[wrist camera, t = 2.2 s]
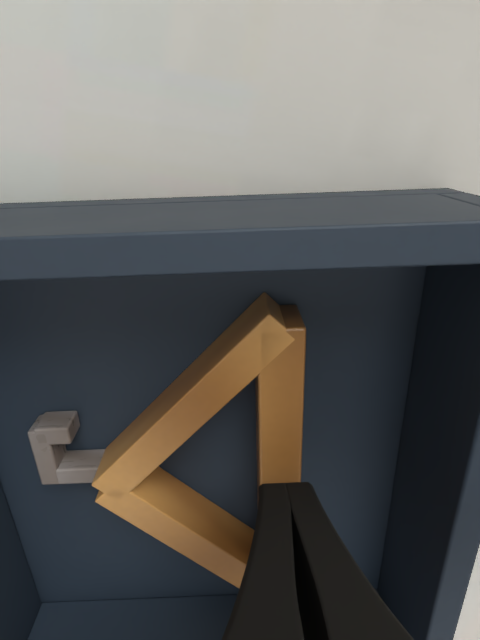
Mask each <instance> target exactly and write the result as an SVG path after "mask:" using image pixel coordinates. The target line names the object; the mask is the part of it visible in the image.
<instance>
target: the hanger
mask: <svg viewBox="0 0 480 640" xmlns="http://www.w3.org/2000/svg"><path fill="white" fill-rule="evenodd" d="M305 355H306V327H305V325H304V322H303V320H302V317H301V315H300V312H299V309H298V307H297V305H279V304H278V303H276V302H275V301H274V300H273V299H272V298H271V297H270V296H269V295H268V294H266V293H265V292H264V293H262V294H261V295H260V296H259V297H258V298H257V299H256V300H255V301H254V302H253V303H252V304H251V305H250V306H249V307H248V308H247V309H246V310H245V311H244V312H243V313H242V314H241V315H240V316H239V317H238V318H237V319H236V320H235V321H234V322H233V323H232V324H231V325H230V326H229V327H228V328H227V329H226V330H225V331H224V332H223V333H222V334H221V335H220V336H219V337H218V338H217V339H216V340H215V341H214V342H213V343H212V344H211V345H210V346H209V347H208V348H207V349H206V350H205V351H204V352H203V353H202V354H201V355H200V356H199V357H198V358H197V359H196V360H195V361H194V362H193V363H192V364H191V365H190V366H189V367H188V368H186V369H185V370H184V371H183V372H182V373H181V374H180V375H179V376H178V377H177V378H176V379H175V380H174V381H173V382H172V383H171V384H170V385H169V386H168V387H167V388H166V389H165V390H164V391H163V392H162V393H161V394H160V395H159V396H158V397H157V398H156V399H155V400H154V401H153V402H152V403H151V404H150V405H149V406H148V407H147V408H146V409H145V410H144V411H143V412H142V413H141V414H140V415H139V416H138V417H137V418H136V419H135V420H134V421H133V422H132V423H131V424H130V425H129V426H128V427H127V428H126V429H125V430H124V431H123V432H122V433H121V434H120V435H119V436H118V437H117V438H116V439H115V440H114V441H113V442H112V443H111V444H109V445H108V446H107V447H106V449H93V450H66V445H65V444H71V443H72V441H73V439H74V437H75V435H76V433H77V431H78V429H79V427H80V422H79V417H78V413H77V411H52V412H45V413H44V415H39V416H38V418H37V419H36V421H35V422H34V423H33V425H32V426H31V428H30V429H29V431H28V438H29V441H30V445H31V448H32V452H33V455H34V459H35V462H36V466H37V469H38V473H39V476H40V480H41V483H42V484H43V485H53V484H79V483H92V486H93V487H94V488H96V489H98V490H99V491H98V494H97V497H96V499H95V502H96V503H98V504H99V505H101V506H103V507H104V508H106V509H108V510H109V511H111V512H113V513H114V514H116V515H117V516H119V517H121V518H122V519H124V520H126V521H127V522H129V523H131V524H132V525H134V526H136V527H137V528H139V529H141V530H142V531H144V532H146V533H147V534H149V535H151V536H152V537H154V538H156V539H157V540H159V541H161V542H162V543H164V544H166V545H167V546H169V547H171V548H172V549H174V550H176V551H177V552H179V553H181V554H182V555H184V556H186V557H187V558H189V559H191V560H192V561H194V562H196V563H197V564H199V565H201V566H202V567H204V568H206V569H207V570H209V571H211V572H212V573H214V574H216V575H217V576H219V577H221V578H222V579H224V580H226V581H227V582H229V583H231V584H232V585H234V586H236V587H237V588H240V585H241V582H242V578H243V575H244V571H245V568H246V565H247V561H248V557H249V553H250V548H251V544H252V540H253V535H254V531H255V530H253V529H252V528H250V527H249V526H247V525H246V524H244V523H243V522H241V521H240V520H238V519H237V518H235V517H234V516H232V515H231V514H229V513H228V512H226V511H225V510H223V509H222V508H220V507H219V506H217V505H216V504H214V503H213V502H211V501H210V500H208V499H207V498H205V497H204V496H202V495H201V494H199V493H198V492H196V491H195V490H193V489H192V488H190V487H189V486H187V485H186V484H184V483H183V482H181V481H180V480H178V479H177V478H175V477H174V476H172V475H171V474H169V473H168V472H166V471H165V470H163V469H162V468H160V467H159V465H160V464H161V463H163V462H164V461H165V460H166V459H167V458H168V457H169V456H170V455H171V454H172V453H173V452H175V451H176V450H177V449H178V448H179V447H180V446H181V445H182V444H183V443H184V442H186V441H187V440H188V439H189V438H190V437H191V436H192V435H193V434H194V433H195V432H196V431H198V430H199V429H200V428H201V427H202V426H203V425H204V424H205V423H206V422H207V421H208V420H210V419H211V418H212V417H213V416H214V415H215V414H216V413H217V412H218V411H219V410H221V409H222V408H223V407H224V406H225V405H226V404H227V403H228V402H229V401H230V400H231V399H233V398H234V397H235V396H236V395H237V394H238V393H239V392H240V391H241V390H242V389H243V388H245V387H246V386H247V385H248V384H249V383H250V382H251V381H252V380H253V379H254V378H255V394H256V448H257V502H258V501H259V495H258V487H259V486H260V485H262V484H267V483H293V482H301V466H302V438H303V411H304V383H305Z"/></svg>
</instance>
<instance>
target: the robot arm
mask: <svg viewBox="0 0 480 640" xmlns="http://www.w3.org/2000/svg"><path fill="white" fill-rule="evenodd" d="M258 495H259V501H258V512H257V519H256V525H255V531H254V535H253V540H252V544H251V548H250V553H249V557H248V561H247V565H246V568H245V571H244V575H243V578H242V582H241V585H240V588H239V592H238V595H237V598H236V601H235V604H234V607H233V610H232V613H231V616H230V618H229V621H228V624H227V626H226V629H225V632H224V635H223V637H222V640H414V639H413V638H412V636H411V635H410V634H409V633H408V632H407V630H406V629H405V628H404V627H403V625H402V624H401V623H400V622H399V620H398V619H397V618H396V617H395V615H394V614H393V613H392V612H391V610H390V609H389V608H388V606H387V605H386V604H385V603H384V601H383V600H382V599H381V597H380V596H379V594H378V593H377V592H376V590H375V589H374V588H373V586H372V585H371V583H370V582H369V581H368V579H367V578H366V576H365V575H364V573H363V572H362V571H361V569H360V568H359V566H358V565H357V563H356V562H355V560H354V559H353V557H352V555H351V554H350V552H349V551H348V549H347V548H346V546H345V544H344V543H343V541H342V540H341V538H340V536H339V535H338V533H337V531H336V530H335V528H334V526H333V525H332V523H331V521H330V519H329V518H328V516H327V514H326V512H325V510H324V508H323V507H322V505H321V503H320V501H319V499H318V497H317V494H316V492H315V490H314V488H313V485H312V484H310V483H309V482H293V483H267V484H262V485H260V486H259V487H258Z"/></svg>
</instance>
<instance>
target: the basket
mask: <svg viewBox="0 0 480 640" xmlns="http://www.w3.org/2000/svg"><path fill="white" fill-rule="evenodd" d="M264 292H265V293H266V294H268V295H269V296H270V297H271V298H272V299H273V300H274V301H275V302H276V303H278V304H279V305H297V307H298V309H299V312H300V315H301V317H302V320H303V322H304V325H305V327H306V355H305V383H304V411H303V438H302V466H301V482H309V483H310V484H312V485H313V488H314V490H315V492H316V494H317V497H318V499H319V501H320V503H321V505H322V507H323V508H324V510H325V512H326V514H327V516H328V518H329V519H330V521H331V523H332V525H333V526H334V528H335V530H336V531H337V533H338V535H339V536H340V538H341V540H342V541H343V543H344V544H345V546H346V548H347V549H348V551H349V552H350V554H351V555H352V557H353V559H354V560H355V562H356V563H357V565H358V566H359V568H360V569H361V571H362V572H363V573H364V575H365V576H366V578H367V579H368V581H369V582H370V583H371V585H372V586H373V588H374V589H375V590H376V592H377V593H378V594H379V596H380V597H381V599H382V600H383V601H384V603H385V604H386V605H387V606H388V608H389V609H390V610H391V612H392V613H393V614H394V615H395V617H396V618H397V619H398V620H399V622H400V623H401V624H402V625H403V627H404V628H405V629H406V630H407V632H408V633H409V634H410V635H411V636H412V638H413V639H414V640H453V637H454V634H455V630H456V627H457V623H458V620H459V616H460V612H461V609H462V605H463V602H464V598H465V594H466V591H467V587H468V584H469V580H470V577H471V573H472V569H473V566H474V562H475V559H476V555H477V551H478V548H479V544H480V196H477V195H473V194H469V193H465V192H461V191H457V190H453V189H449V188H442V189H412V190H383V191H354V192H325V193H296V194H267V195H237V196H208V197H179V198H150V199H121V200H92V201H63V202H33V203H4V204H0V640H222V637H223V635H224V632H225V629H226V626H227V624H228V621H229V618H230V616H231V613H232V610H233V607H234V604H235V601H236V598H237V595H238V592H239V588H237V587H236V586H234V585H232V584H231V583H229V582H227V581H226V580H224V579H222V578H221V577H219V576H217V575H216V574H214V573H212V572H211V571H209V570H207V569H206V568H204V567H202V566H201V565H199V564H197V563H196V562H194V561H192V560H191V559H189V558H187V557H186V556H184V555H182V554H181V553H179V552H177V551H176V550H174V549H172V548H171V547H169V546H167V545H166V544H164V543H162V542H161V541H159V540H157V539H156V538H154V537H152V536H151V535H149V534H147V533H146V532H144V531H142V530H141V529H139V528H137V527H136V526H134V525H132V524H131V523H129V522H127V521H126V520H124V519H122V518H121V517H119V516H117V515H116V514H114V513H113V512H111V511H109V510H108V509H106V508H104V507H103V506H101V505H99V504H98V503H96V502H95V499H96V497H97V494H98V491H99V490H98V489H96V488H94V487H93V486H92V483H79V484H53V485H43V484H42V483H41V480H40V476H39V473H38V469H37V466H36V462H35V459H34V455H33V452H32V448H31V445H30V441H29V438H28V431H29V429H30V428H31V426H32V425H33V423H34V422H35V421H36V419H37V418H38V416H39V415H44V413H45V412H52V411H77V413H78V417H79V422H80V427H79V429H78V431H77V433H76V435H75V437H74V439H73V441H72V443H71V444H65V445H66V450H93V449H106V447H107V446H108V445H109V444H111V443H112V442H113V441H114V440H115V439H116V438H117V437H118V436H119V435H120V434H121V433H122V432H123V431H124V430H125V429H126V428H127V427H128V426H129V425H130V424H131V423H132V422H133V421H134V420H135V419H136V418H137V417H138V416H139V415H140V414H141V413H142V412H143V411H144V410H145V409H146V408H147V407H148V406H149V405H150V404H151V403H152V402H153V401H154V400H155V399H156V398H157V397H158V396H159V395H160V394H161V393H162V392H163V391H164V390H165V389H166V388H167V387H168V386H169V385H170V384H171V383H172V382H173V381H174V380H175V379H176V378H177V377H178V376H179V375H180V374H181V373H182V372H183V371H184V370H185V369H186V368H188V367H189V366H190V365H191V364H192V363H193V362H194V361H195V360H196V359H197V358H198V357H199V356H200V355H201V354H202V353H203V352H204V351H205V350H206V349H207V348H208V347H209V346H210V345H211V344H212V343H213V342H214V341H215V340H216V339H217V338H218V337H219V336H220V335H221V334H222V333H223V332H224V331H225V330H226V329H227V328H228V327H229V326H230V325H231V324H232V323H233V322H234V321H235V320H236V319H237V318H238V317H239V316H240V315H241V314H242V313H243V312H244V311H245V310H246V309H247V308H248V307H249V306H250V305H251V304H252V303H253V302H254V301H255V300H256V299H257V298H258V297H259V296H260V295H261V294H262V293H264ZM159 467H160V468H162V469H163V470H165V471H166V472H168V473H169V474H171V475H172V476H174V477H175V478H177V479H178V480H180V481H181V482H183V483H184V484H186V485H187V486H189V487H190V488H192V489H193V490H195V491H196V492H198V493H199V494H201V495H202V496H204V497H205V498H207V499H208V500H210V501H211V502H213V503H214V504H216V505H217V506H219V507H220V508H222V509H223V510H225V511H226V512H228V513H229V514H231V515H232V516H234V517H235V518H237V519H238V520H240V521H241V522H243V523H244V524H246V525H247V526H249V527H250V528H252V529H253V530H255V525H256V519H257V512H258V502H257V448H256V394H255V378H254V379H253V380H252V381H251V382H250V383H249V384H248V385H247V386H246V387H245V388H243V389H242V390H241V391H240V392H239V393H238V394H237V395H236V396H235V397H234V398H233V399H231V400H230V401H229V402H228V403H227V404H226V405H225V406H224V407H223V408H222V409H221V410H219V411H218V412H217V413H216V414H215V415H214V416H213V417H212V418H211V419H210V420H208V421H207V422H206V423H205V424H204V425H203V426H202V427H201V428H200V429H199V430H198V431H196V432H195V433H194V434H193V435H192V436H191V437H190V438H189V439H188V440H187V441H186V442H184V443H183V444H182V445H181V446H180V447H179V448H178V449H177V450H176V451H175V452H173V453H172V454H171V455H170V456H169V457H168V458H167V459H166V460H165V461H164V462H163V463H161V464H160V465H159Z"/></svg>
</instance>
